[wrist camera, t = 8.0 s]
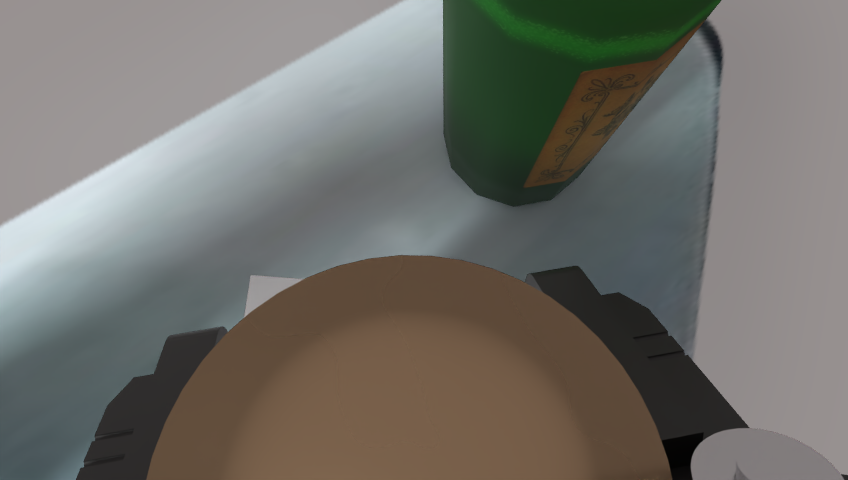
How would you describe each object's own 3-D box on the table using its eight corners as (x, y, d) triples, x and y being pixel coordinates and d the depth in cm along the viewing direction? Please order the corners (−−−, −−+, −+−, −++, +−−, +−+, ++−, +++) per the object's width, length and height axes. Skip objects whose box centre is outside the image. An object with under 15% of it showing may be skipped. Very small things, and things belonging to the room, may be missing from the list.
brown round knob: (336, 529, 22) (78, 822, 5) (350, 395, 23) (192, 236, 6) (468, 539, 22) (694, 869, 5) (474, 404, 23) (669, 273, 6)
